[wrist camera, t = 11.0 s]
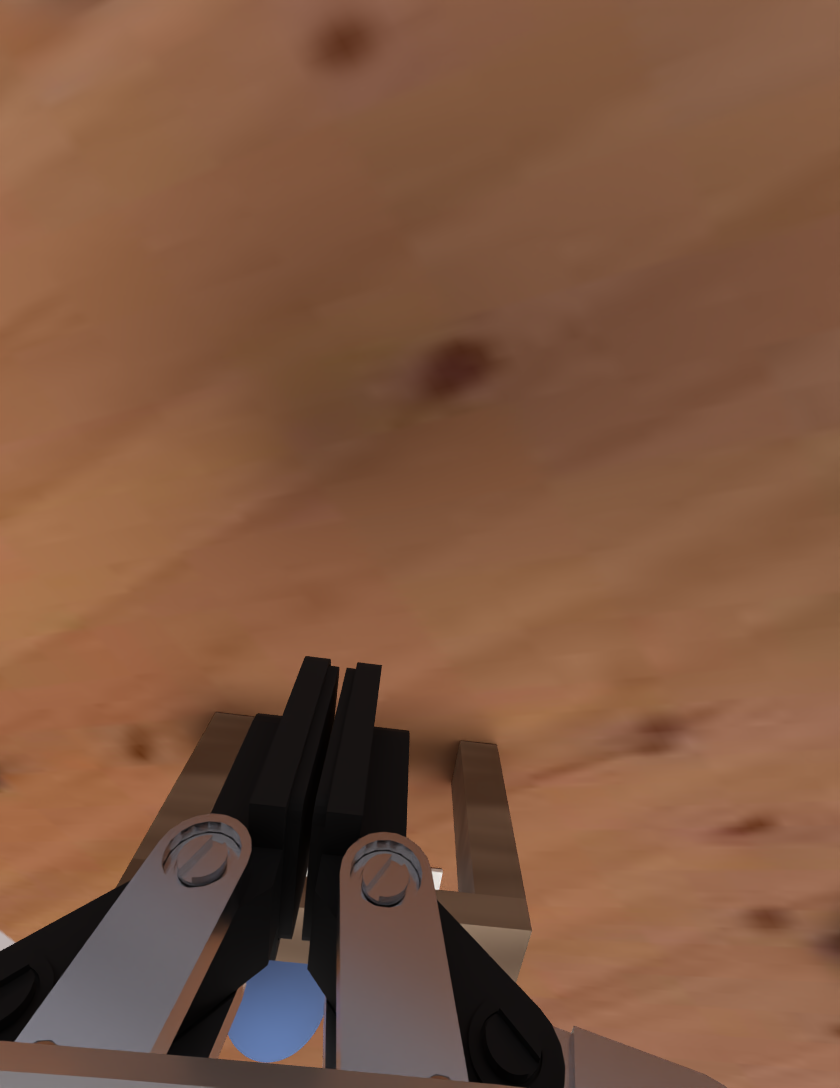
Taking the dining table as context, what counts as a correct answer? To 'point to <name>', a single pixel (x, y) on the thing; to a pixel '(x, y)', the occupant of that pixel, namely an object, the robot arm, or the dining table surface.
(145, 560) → the dining table surface
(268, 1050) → the ball
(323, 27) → the dining table surface
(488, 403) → the dining table surface
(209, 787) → the bridge
